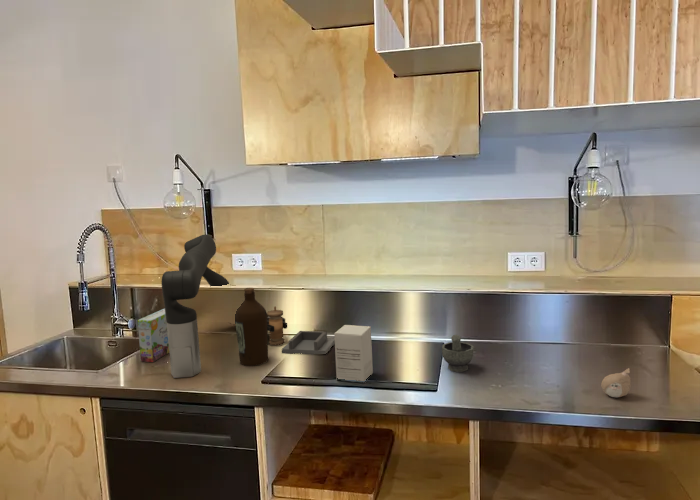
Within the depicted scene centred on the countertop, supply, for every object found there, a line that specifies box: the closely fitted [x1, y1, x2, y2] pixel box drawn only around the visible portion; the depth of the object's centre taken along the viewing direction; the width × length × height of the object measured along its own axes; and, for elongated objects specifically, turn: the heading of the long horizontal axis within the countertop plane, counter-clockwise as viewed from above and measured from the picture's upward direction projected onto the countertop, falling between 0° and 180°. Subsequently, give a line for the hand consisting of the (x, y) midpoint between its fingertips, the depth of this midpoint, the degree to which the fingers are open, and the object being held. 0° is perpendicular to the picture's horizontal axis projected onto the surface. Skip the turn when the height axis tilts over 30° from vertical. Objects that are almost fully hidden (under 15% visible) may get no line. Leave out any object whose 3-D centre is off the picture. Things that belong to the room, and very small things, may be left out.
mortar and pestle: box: [441, 334, 475, 373], centre depth 157 cm, size 11×9×12 cm
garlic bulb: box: [600, 367, 632, 398], centre depth 134 cm, size 7×6×8 cm
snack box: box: [137, 307, 169, 363], centre depth 185 cm, size 21×6×15 cm, turn 168°
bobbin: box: [266, 306, 286, 347], centre depth 190 cm, size 6×6×14 cm
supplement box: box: [333, 324, 374, 381], centre depth 154 cm, size 9×9×15 cm
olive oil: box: [235, 287, 269, 367], centre depth 171 cm, size 11×11×25 cm
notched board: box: [281, 330, 335, 355], centre depth 184 cm, size 16×14×4 cm
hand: (279, 327), depth 188 cm, fingers closed on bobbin, 5 cm apart
